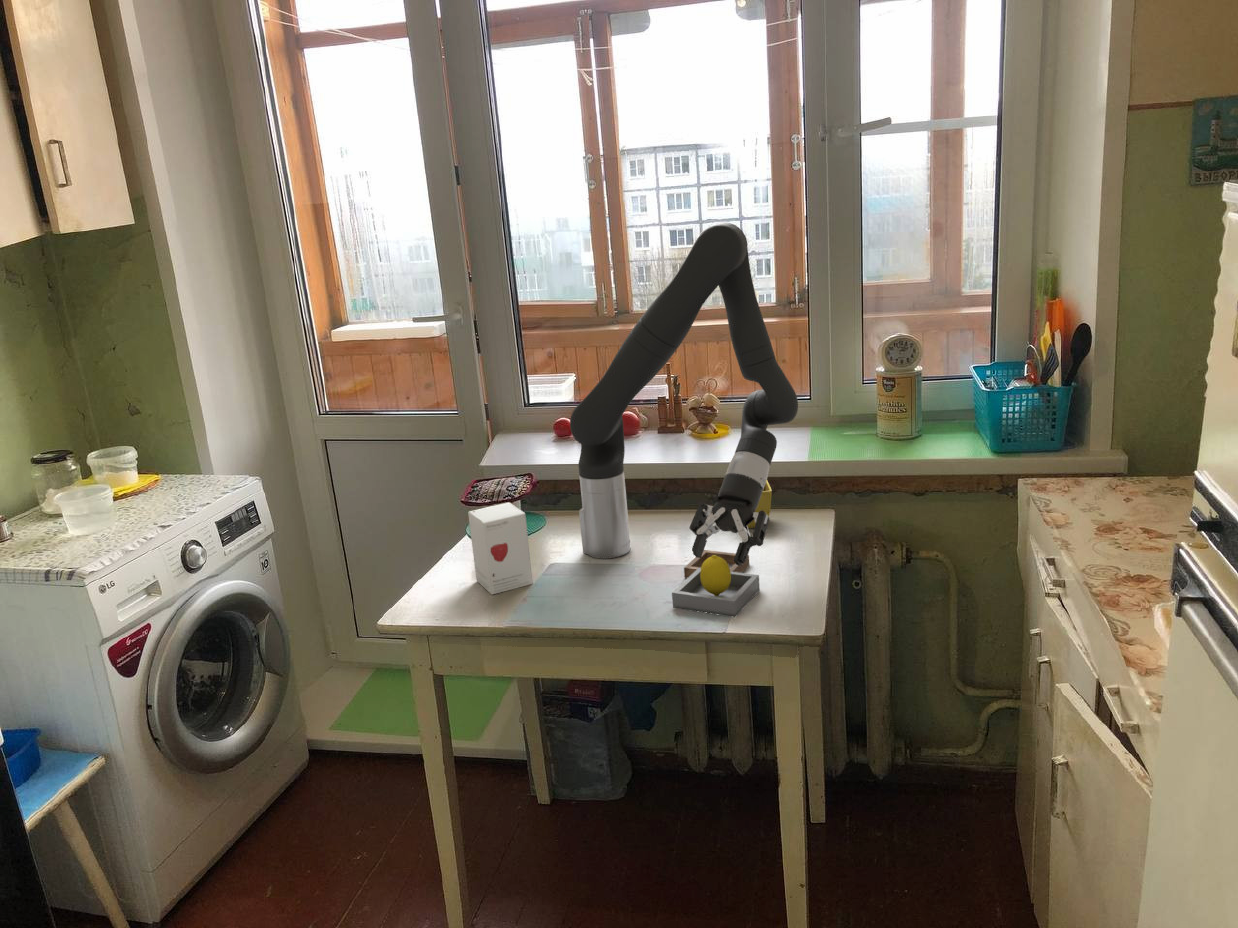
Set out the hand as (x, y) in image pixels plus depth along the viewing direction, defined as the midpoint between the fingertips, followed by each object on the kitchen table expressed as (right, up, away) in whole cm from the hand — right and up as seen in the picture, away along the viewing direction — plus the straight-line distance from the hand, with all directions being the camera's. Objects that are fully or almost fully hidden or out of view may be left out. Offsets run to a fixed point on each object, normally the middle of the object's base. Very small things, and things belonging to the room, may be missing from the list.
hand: (716, 559), depth 174 cm
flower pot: (+11, +4, +37) cm, 39 cm away
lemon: (0, -7, +1) cm, 7 cm away
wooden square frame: (+1, -3, +14) cm, 14 cm away
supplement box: (-40, -6, +17) cm, 44 cm away
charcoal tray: (0, -7, +1) cm, 7 cm away
